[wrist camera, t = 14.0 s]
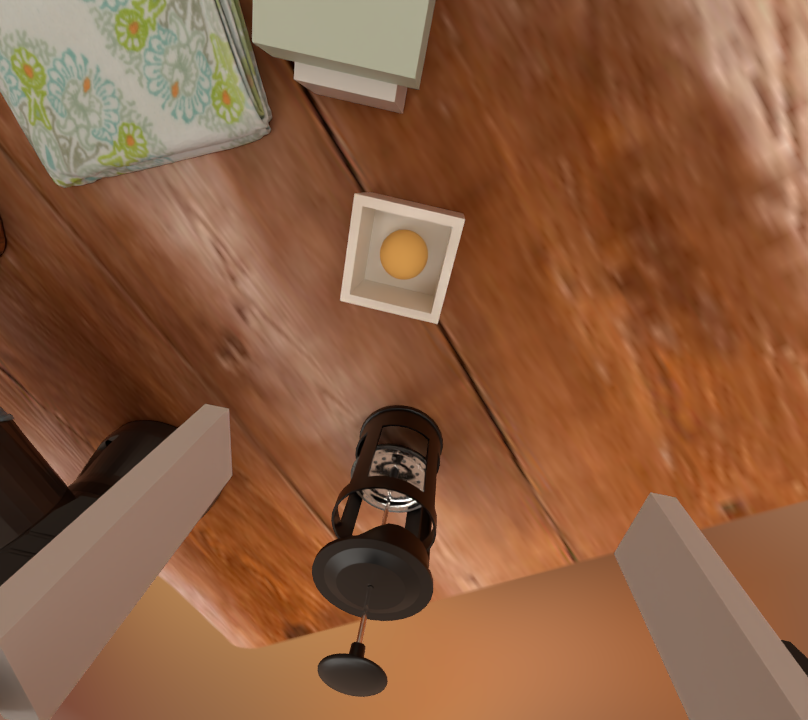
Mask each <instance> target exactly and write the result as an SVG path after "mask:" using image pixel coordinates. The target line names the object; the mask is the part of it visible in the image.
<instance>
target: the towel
mask: <svg viewBox="0 0 808 720" xmlns="http://www.w3.org/2000/svg"><path fill="white" fill-rule="evenodd" d="M0 92H1V93H2V95H3V97H4V98H5V100H6V102H7V104H8V105H9V107H10V109H11V111H12V112H13V114H14V116H15V118H16V119H17V121H18V123H19V125H20V127H21V128H22V130H23V132H24V133H25V135H26V137H27V139H28V140H29V142H30V144H31V145H32V147H33V148H34V150H35V152H36V154H37V155H38V157H39V158H40V160H41V162H42V164H43V165H44V167H45V168H46V170H47V172H48V173H49V175H50V176H51V178H52V180H53V181H54V182H55V183H56V184H57V185H59V186H62V187H64V188H66V187H71V186H81V185H85V184H88V183H94V182H95V181H96V180H97V179H102V178H103V177H113V176H118V175H121V174H126V173H131V172H134V171H140V170H144V169H148V168H152V167H157V166H161V165H164V164H170V163H173V162H177V161H181V160H185V159H189V158H194V157H198V156H201V155H205V154H209V153H214V152H218V151H223V150H227V149H232V148H235V147H238V146H241V145H245V144H248V143H251V142H254V141H256V140H259V139H261V138H262V137H263V136H264V135H266V134H269V133H270V132H271V128H270V126H269V124H268V122H269V121H270V120H271V119H272V113H271V109H270V107H269V105H268V102H267V97H266V94H265V91H264V88H263V84H262V80H261V77H260V74H259V70H258V67H257V63H256V59H255V56H254V52H253V48H252V45H251V41H250V38H249V34H248V30H247V27H246V23H245V20H244V16H243V13H242V9H241V6H240V2H239V0H0Z"/></svg>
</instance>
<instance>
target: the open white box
mask: <svg viewBox="0 0 808 720" xmlns="http://www.w3.org/2000/svg"><path fill="white" fill-rule="evenodd" d="M464 222H465V217H464V214H463V213H459V212H455V211H451V210H446V209H442V208H438V207H433V206H429V205H425V204H421V203H416V202H412V201H408V200H403V199H399V198H395V197H391V196H386V195H382V194H378V193H373V192H366V193H354V201H353V208H352V215H351V223H350V230H349V238H348V245H347V252H346V260H345V267H344V274H343V282H342V289H341V297H340V301H343V302H347V303H351V304H356V305H360V306H364V307H368V308H372V309H376V310H381V311H385V312H389V313H393V314H397V315H402V316H406V317H410V318H414V319H418V320H422V321H427V322H431V323H435V324H438V320H439V317H440V313H441V309H442V305H443V301H444V298H445V294H446V290H447V286H448V282H449V279H450V275H451V271H452V267H453V263H454V260H455V256H456V252H457V248H458V244H459V241H460V237H461V233H462V229H463V225H464ZM398 230H410V231H413V232H415V233H417V234H418V235H419V236H421V237H422V239H423V240H424V241H425V243H426V246H427V249H428V260H427V263H426V266H425V268H424V269H423V270H422V272H421V273H420V274H419V275H417V276H416V277H414V278H411V279H406V280H401V279H397V278H394V277H392V276H391V275H389V274H388V273H387V272H386V271H385V269H384V268H383V266H382V264H381V260H380V249H381V246H382V243H383V241H384V240H385V239H386V237H387V236H388V235H390V234H391V233H393V232H395V231H398Z"/></svg>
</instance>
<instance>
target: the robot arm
mask: <svg viewBox="0 0 808 720" xmlns="http://www.w3.org/2000/svg"><path fill="white" fill-rule="evenodd" d="M13 419H14V417H13V416H12V415H11V414H7V413H6V412H5V411H4V410H3V409H2V408H1V407H0V713H1V715H2V716H3V718H4V719H9V720H50V718H51V717H52V716H53V714H54V713H55V712H56V710H57V709H58V708H59V706H60V705H61V704H62V702H63V701H64V700H65V698H66V697H67V696H68V694H69V693H70V692H71V690H72V689H73V688H74V686H75V685H76V684H77V682H78V681H79V680H80V678H81V677H82V676H83V674H84V673H85V672H86V670H87V669H88V668H89V666H90V665H91V664H92V662H93V661H94V659H95V658H96V657H97V656H98V654H99V653H100V652H101V650H102V649H103V648H104V646H105V645H106V644H107V642H108V641H109V640H110V638H111V637H112V636H113V634H114V633H115V632H116V630H117V629H118V628H119V626H120V625H121V623H122V622H123V621H124V619H125V618H126V617H127V616H128V614H129V613H130V612H131V610H132V609H133V607H134V606H135V605H136V603H137V602H138V601H139V599H140V598H141V597H142V596H143V594H144V593H145V592H146V590H147V589H148V587H149V586H150V585H151V583H152V582H153V581H154V580H155V578H156V577H157V575H158V574H159V573H160V571H161V570H162V569H163V567H164V566H165V565H166V563H167V562H168V561H169V559H170V558H171V557H172V555H173V554H174V553H175V551H176V550H177V549H178V547H179V546H180V545H181V543H182V542H183V541H184V539H185V538H186V537H187V535H188V534H189V533H190V531H191V530H192V529H193V527H194V526H195V525H196V523H197V522H198V521H199V519H201V518H202V517H203V516H204V515H205V514H206V513H207V512H208V511H209V510H210V508H211V507H212V506H213V504H214V503H215V502H216V500H217V499H218V497H219V495H220V493H221V490H222V489H223V487H224V486H225V485H226V483H227V482H228V481H229V479H230V478H231V477H232V459H231V438H230V418H229V408H224V407H219V406H214V405H209V404H204V405H203V406H202V407H201V408H200V409H199V410H198V411H197V412H196V413H194V414H193V415H192V416H191V417H190V418H189V419H188V420H187V421H185V422H184V423H183V424H182V425H181V426H180V427H179V428H178V429H177V428H175V427H173V426H170V425H167V424H164V423H160V422H155V421H135V422H131V423H128V424H125V425H123V426H122V427H120V428H119V429H118V430H116V431H115V432H113V433H112V434H111V435H109V436H108V437H107V438H106V439H105V440H104V441H103V442H102V443H101V444H100V446H99V447H98V449H97V450H96V452H95V453H94V454H93V456H92V457H91V458H90V460H89V461H88V463H87V464H86V466H85V467H84V469H83V470H82V471H81V473H80V474H79V476H78V477H77V479H76V480H75V481H74V482H73V483H72V484H71V485H70V486H69V487H67V485H66V484H65V483H64V482H63V480H62V479H61V478H60V477H59V476H58V474H57V473H56V472H55V471H54V470H53V469H52V467H51V466H50V465H49V464H48V463H47V461H46V460H45V459H44V458H43V457H42V455H41V454H40V453H39V452H38V451H37V449H36V448H35V447H34V446H33V445H32V443H31V442H30V441H29V440H28V439H27V437H26V436H25V435H24V434H23V432H22V431H21V430H20V428H19V427H18V426H17V425H16V423H15V422H14V421H13ZM614 555H615V557H616V559H617V561H618V564H619V566H620V568H621V570H622V572H623V575H624V577H625V579H626V581H627V583H628V586H629V588H630V590H631V592H632V594H633V597H634V599H635V601H636V603H637V605H638V608H639V610H640V612H641V614H642V617H643V619H644V621H645V623H646V625H647V628H648V630H649V632H650V634H651V636H652V639H653V641H654V643H655V644H656V647H657V650H658V652H659V654H660V656H661V658H662V661H663V663H664V665H665V667H666V669H667V672H668V674H669V676H670V678H671V680H672V683H673V685H674V687H675V689H676V691H677V694H678V696H679V698H680V700H681V703H682V705H683V707H684V709H685V711H686V714H687V716H688V718H689V720H808V658H806V657H805V655H803V654H802V653H801V652H800V651H799V650H798V649H797V648H796V647H795V646H794V645H793V644H792V643H791V642H789V641H784V640H780V638H779V637H778V636H777V634H776V633H775V632H774V630H773V629H772V628H771V626H770V625H769V624H768V622H767V621H766V619H765V618H764V617H763V615H762V614H761V613H760V611H759V610H758V609H757V607H756V606H755V604H754V603H753V602H752V600H751V599H750V598H749V596H748V595H747V594H746V592H745V591H744V590H743V588H742V587H741V585H740V584H739V583H738V581H737V580H736V579H735V577H734V576H733V575H732V573H731V572H730V570H729V569H728V568H727V566H726V565H725V564H724V563H723V561H722V560H721V558H720V557H719V556H718V555H717V553H716V551H715V550H714V549H713V547H712V546H711V545H710V543H709V542H708V541H707V539H706V538H705V537H704V535H703V534H702V532H701V531H700V530H699V528H698V527H697V526H696V524H695V523H694V522H693V520H692V519H691V517H690V516H689V515H688V513H687V512H686V511H685V509H684V508H683V507H682V505H681V504H680V502H679V501H678V500H677V498H676V497H671V496H666V495H660V494H655V493H650V494H649V496H648V497H647V499H646V501H645V502H644V504H643V506H642V508H641V509H640V511H639V513H638V514H637V516H636V518H635V519H634V521H633V523H632V524H631V526H630V528H629V529H628V531H627V533H626V534H625V536H624V538H623V539H622V541H621V543H620V544H619V546H618V548H617V549H616V551H615V553H614Z"/></svg>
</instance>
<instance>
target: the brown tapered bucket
mask: <svg viewBox="0 0 808 720" xmlns="http://www.w3.org/2000/svg"><path fill="white" fill-rule="evenodd" d="M4 248H5V237H4V232H3V227H2V223H1V219H0V255H1V254H2V253H3V251H4Z"/></svg>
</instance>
